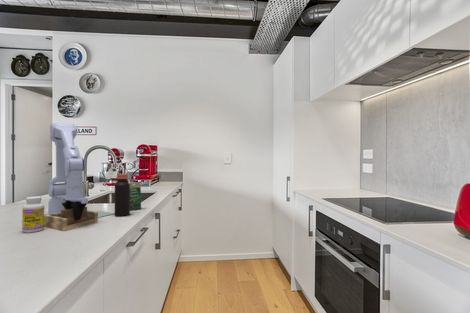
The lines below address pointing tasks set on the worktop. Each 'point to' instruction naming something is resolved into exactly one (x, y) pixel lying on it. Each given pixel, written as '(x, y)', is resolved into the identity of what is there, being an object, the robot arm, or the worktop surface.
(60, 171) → the robot arm
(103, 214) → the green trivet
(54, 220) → the oak rack
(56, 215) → the grey offcut
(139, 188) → the coffee box
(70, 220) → the walnut board
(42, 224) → the supplement bottle
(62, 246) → the worktop surface
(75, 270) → the worktop surface
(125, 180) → the vinegar
